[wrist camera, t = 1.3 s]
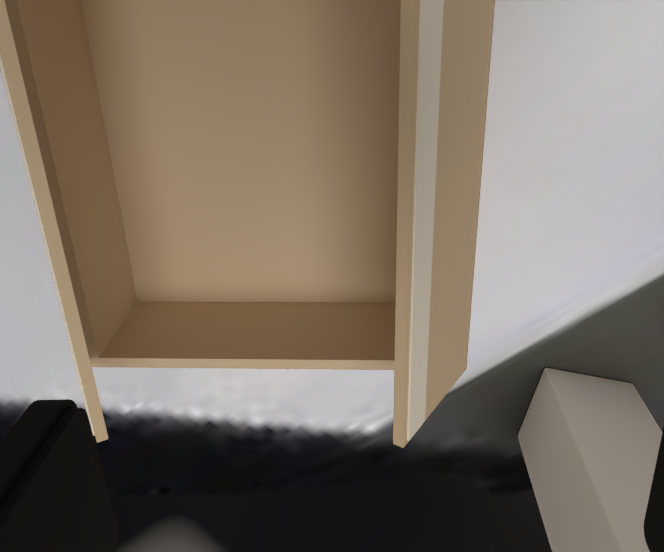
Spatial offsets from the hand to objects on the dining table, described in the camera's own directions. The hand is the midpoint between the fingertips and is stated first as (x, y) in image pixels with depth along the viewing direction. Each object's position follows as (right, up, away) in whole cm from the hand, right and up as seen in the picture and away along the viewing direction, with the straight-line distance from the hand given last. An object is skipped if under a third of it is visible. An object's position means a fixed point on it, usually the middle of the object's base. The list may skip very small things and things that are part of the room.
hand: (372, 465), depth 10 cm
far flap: (-13, +7, +16) cm, 22 cm away
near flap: (+4, +7, +15) cm, 17 cm away
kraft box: (-4, +12, +25) cm, 28 cm away
